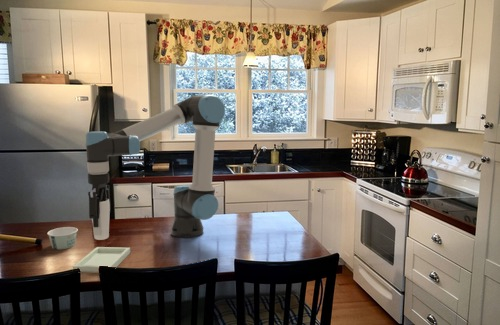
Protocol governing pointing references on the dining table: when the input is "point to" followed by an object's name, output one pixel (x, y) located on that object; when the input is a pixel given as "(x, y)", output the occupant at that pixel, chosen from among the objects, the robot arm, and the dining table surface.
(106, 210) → the drinking glass
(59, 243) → the food container
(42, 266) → the dining table surface
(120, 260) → the tray
